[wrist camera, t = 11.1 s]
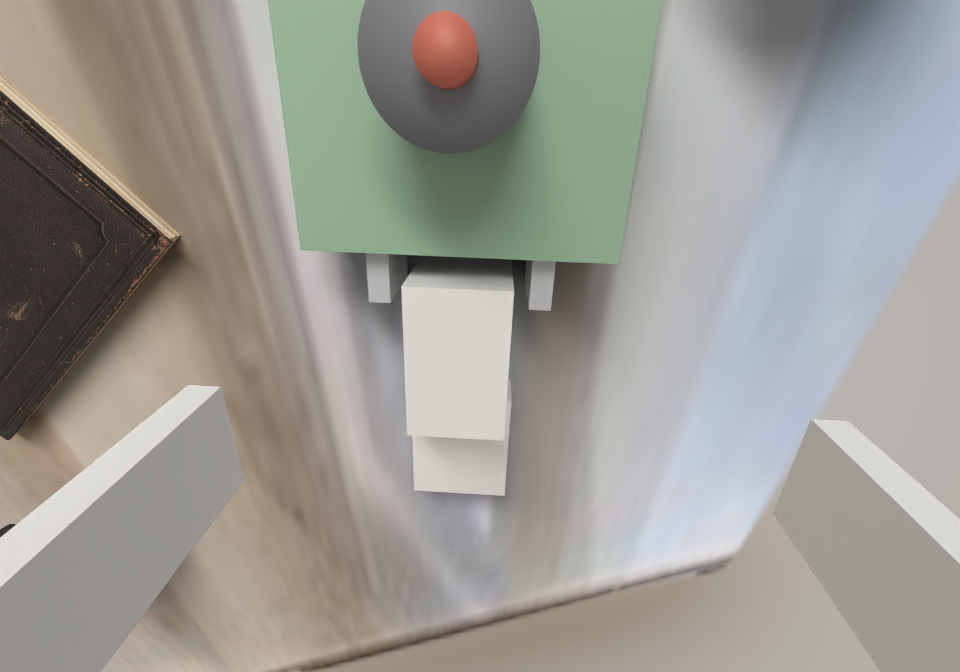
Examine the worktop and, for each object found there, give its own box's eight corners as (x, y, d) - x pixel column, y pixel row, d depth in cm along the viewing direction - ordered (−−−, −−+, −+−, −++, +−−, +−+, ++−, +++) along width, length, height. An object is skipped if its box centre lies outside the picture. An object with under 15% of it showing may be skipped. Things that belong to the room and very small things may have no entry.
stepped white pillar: (504, 467, 36) (504, 540, 29) (420, 463, 36) (403, 534, 29) (519, 256, 29) (524, 292, 22) (415, 252, 29) (391, 285, 22)
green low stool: (635, -47, 22) (765, -223, 11) (589, 285, 29) (642, 376, 18) (313, -56, 23) (136, -233, 12) (343, 274, 30) (250, 356, 19)
